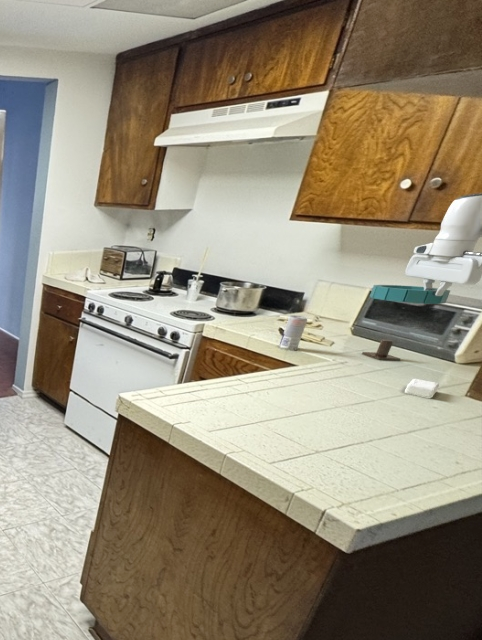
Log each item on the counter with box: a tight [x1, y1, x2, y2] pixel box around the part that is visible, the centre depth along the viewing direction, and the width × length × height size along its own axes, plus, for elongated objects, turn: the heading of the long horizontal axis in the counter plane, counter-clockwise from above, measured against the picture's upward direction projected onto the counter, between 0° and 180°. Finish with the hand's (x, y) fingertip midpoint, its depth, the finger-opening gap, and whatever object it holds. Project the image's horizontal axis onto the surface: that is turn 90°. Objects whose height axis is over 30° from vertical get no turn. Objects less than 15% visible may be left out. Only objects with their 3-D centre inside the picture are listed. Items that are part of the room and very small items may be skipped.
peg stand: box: [361, 338, 401, 362], centre depth 165 cm, size 7×7×6 cm
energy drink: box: [278, 315, 308, 351], centre depth 173 cm, size 5×5×12 cm
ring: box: [369, 284, 451, 305], centre depth 157 cm, size 17×17×4 cm
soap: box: [404, 378, 440, 399], centre depth 133 cm, size 9×6×3 cm, turn 127°
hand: (432, 294), depth 149 cm, fingers closed on ring, 2 cm apart
